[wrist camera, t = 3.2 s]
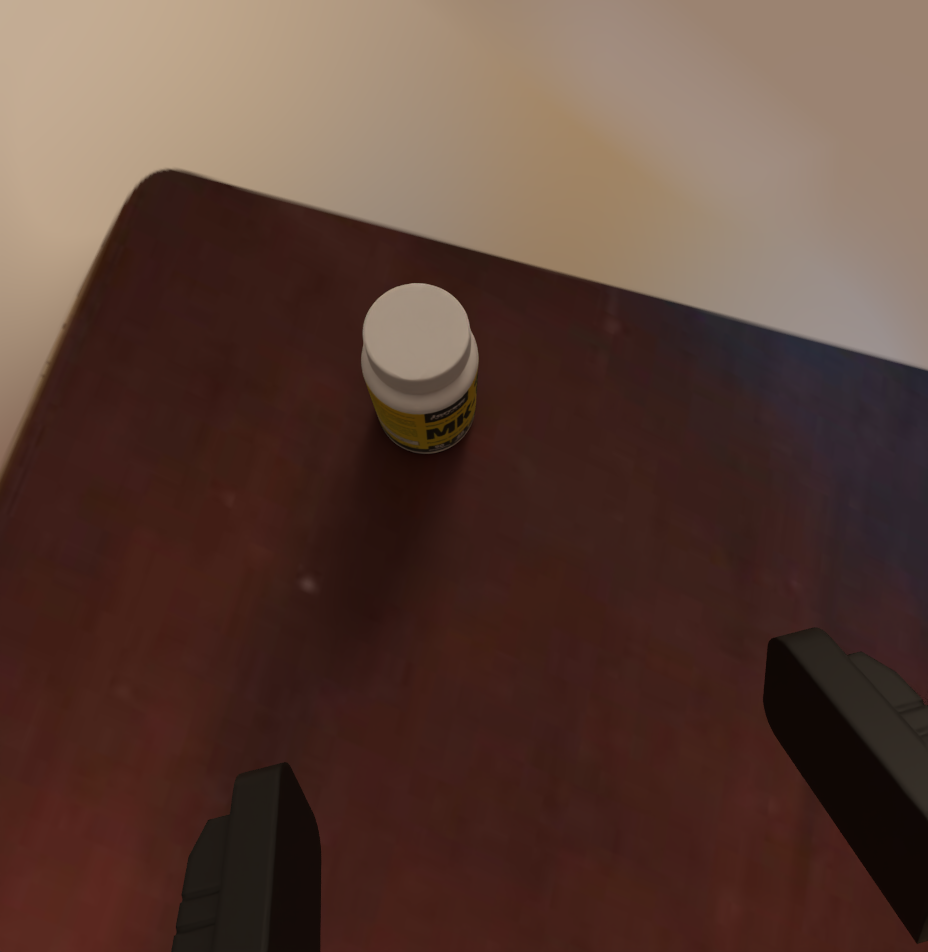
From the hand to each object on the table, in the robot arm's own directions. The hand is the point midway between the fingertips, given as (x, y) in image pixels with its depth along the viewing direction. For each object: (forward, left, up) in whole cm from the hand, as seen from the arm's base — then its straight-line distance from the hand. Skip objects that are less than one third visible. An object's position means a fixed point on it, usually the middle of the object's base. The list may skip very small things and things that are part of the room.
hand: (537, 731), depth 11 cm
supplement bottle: (-11, -6, -20) cm, 23 cm away
